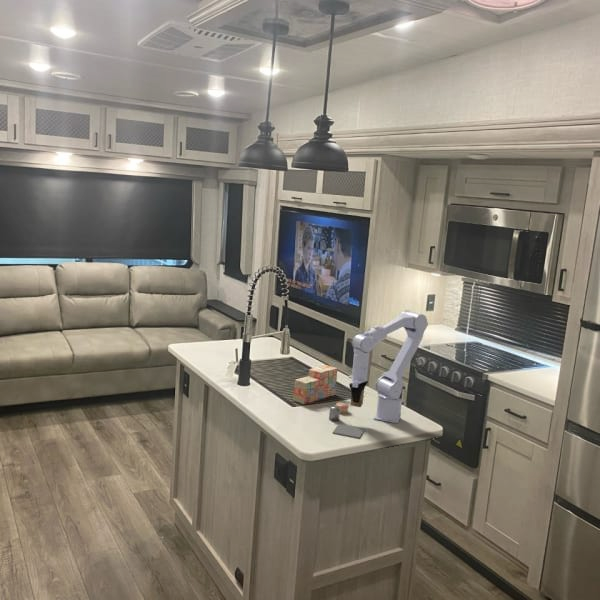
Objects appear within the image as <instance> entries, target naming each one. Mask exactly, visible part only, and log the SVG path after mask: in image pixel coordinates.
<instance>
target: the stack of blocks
mask: <svg viewBox="0 0 600 600" xmlns="http://www.w3.org/2000/svg"><path fill="white" fill-rule="evenodd" d="M338 370H339V369H338V368H337V367H334V366H331V365H328V364H326V365H320V366H317V367H313V368H309V370H308V376H304V377H300V378H297V379H294V387H293V399H292V400H293V401H294V402H297V403H299V404H302V405H307V404H311V403H314V402H316V401H319V400H322V399H327V398H329V397H331V396H332V397H333V396H335V395H336V389H337V388H336V387H337V380H338Z"/></svg>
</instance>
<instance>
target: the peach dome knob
mask: <svg viewBox="0 0 600 600" xmlns="http://www.w3.org/2000/svg"><path fill="white" fill-rule="evenodd" d="M335 406H339V407H340V415H344V414H345V415H346V414H348V412H349V404H348V403H346V402H337V403H336V404H335Z"/></svg>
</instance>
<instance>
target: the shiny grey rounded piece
mask: <svg viewBox="0 0 600 600" xmlns="http://www.w3.org/2000/svg"><path fill="white" fill-rule="evenodd" d="M328 414H329V416H328V420H329V421H331V422H334V423H335V422H336V423H337V422H339V421H340V417H341V416H340V415H341V414H340V407H339V406H336V405H329V413H328Z"/></svg>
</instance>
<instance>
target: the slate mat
mask: <svg viewBox="0 0 600 600" xmlns="http://www.w3.org/2000/svg"><path fill="white" fill-rule="evenodd" d="M365 430H366V428H365V427H362V426H356V425H351V424H345V423H340V422H338V424H337V425H336V427H335V428H334V429H333V431H332V434H334V435H338V436H339V435H340V436H344V437H350V438H353V439H354V438H355V439H360V438H361V437H362V436H363V433H364V432H365Z"/></svg>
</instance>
